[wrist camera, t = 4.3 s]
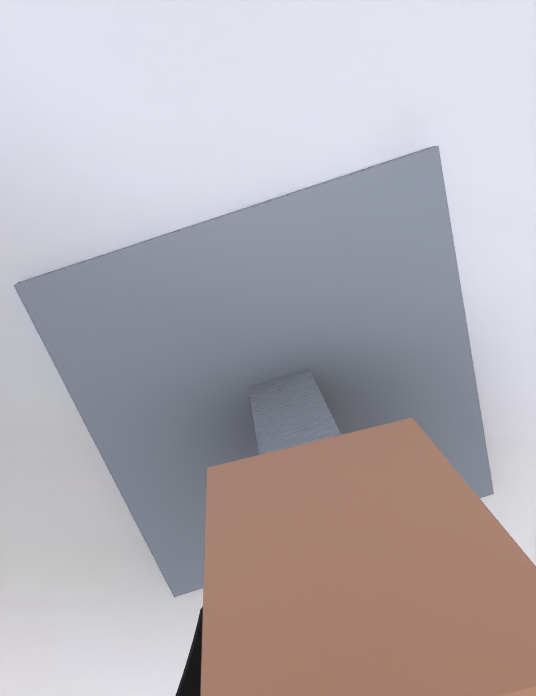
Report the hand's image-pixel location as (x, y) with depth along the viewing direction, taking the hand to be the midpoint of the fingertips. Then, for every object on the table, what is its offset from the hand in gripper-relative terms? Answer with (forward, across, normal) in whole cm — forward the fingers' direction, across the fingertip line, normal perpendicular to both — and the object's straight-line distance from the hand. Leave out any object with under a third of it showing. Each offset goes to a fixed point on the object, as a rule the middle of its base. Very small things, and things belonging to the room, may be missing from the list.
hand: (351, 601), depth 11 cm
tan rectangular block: (+2, 0, 0) cm, 2 cm away
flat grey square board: (+10, 0, 0) cm, 10 cm away
